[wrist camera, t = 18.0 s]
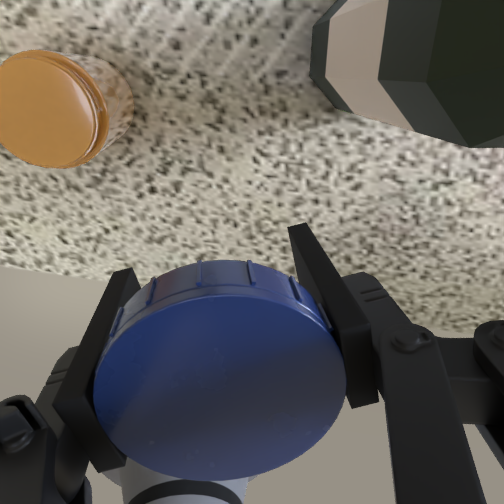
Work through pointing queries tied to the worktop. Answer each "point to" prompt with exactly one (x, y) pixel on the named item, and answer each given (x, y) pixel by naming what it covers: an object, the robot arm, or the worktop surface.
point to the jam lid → (219, 372)
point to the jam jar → (61, 107)
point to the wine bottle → (416, 65)
